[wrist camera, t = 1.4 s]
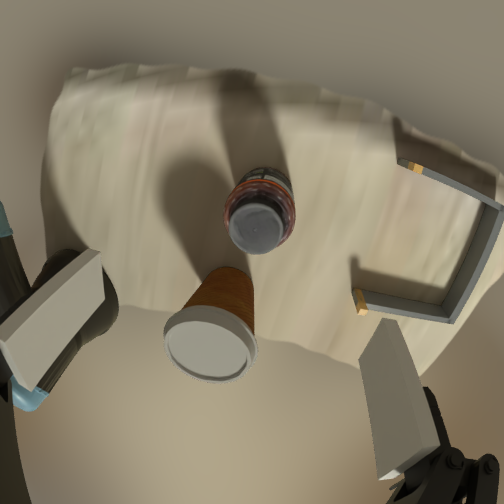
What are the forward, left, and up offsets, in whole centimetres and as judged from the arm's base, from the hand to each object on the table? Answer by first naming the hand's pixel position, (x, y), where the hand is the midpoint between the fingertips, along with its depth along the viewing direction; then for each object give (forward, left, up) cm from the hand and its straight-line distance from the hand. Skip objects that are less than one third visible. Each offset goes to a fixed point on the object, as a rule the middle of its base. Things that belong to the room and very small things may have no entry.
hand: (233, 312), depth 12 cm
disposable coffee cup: (-2, -13, -21) cm, 25 cm away
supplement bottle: (0, 0, -21) cm, 21 cm away
